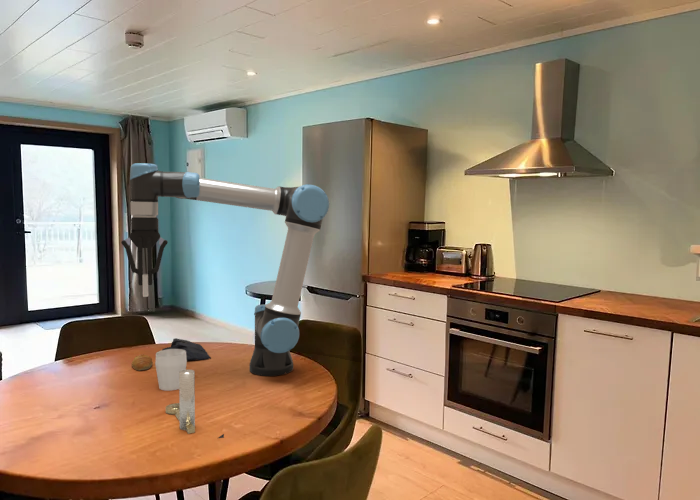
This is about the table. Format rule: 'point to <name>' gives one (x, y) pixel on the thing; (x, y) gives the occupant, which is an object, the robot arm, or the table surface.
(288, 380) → the table surface
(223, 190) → the robot arm
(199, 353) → the dark grey crumpled cloth
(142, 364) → the pastry
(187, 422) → the tuning peg
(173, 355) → the cup
